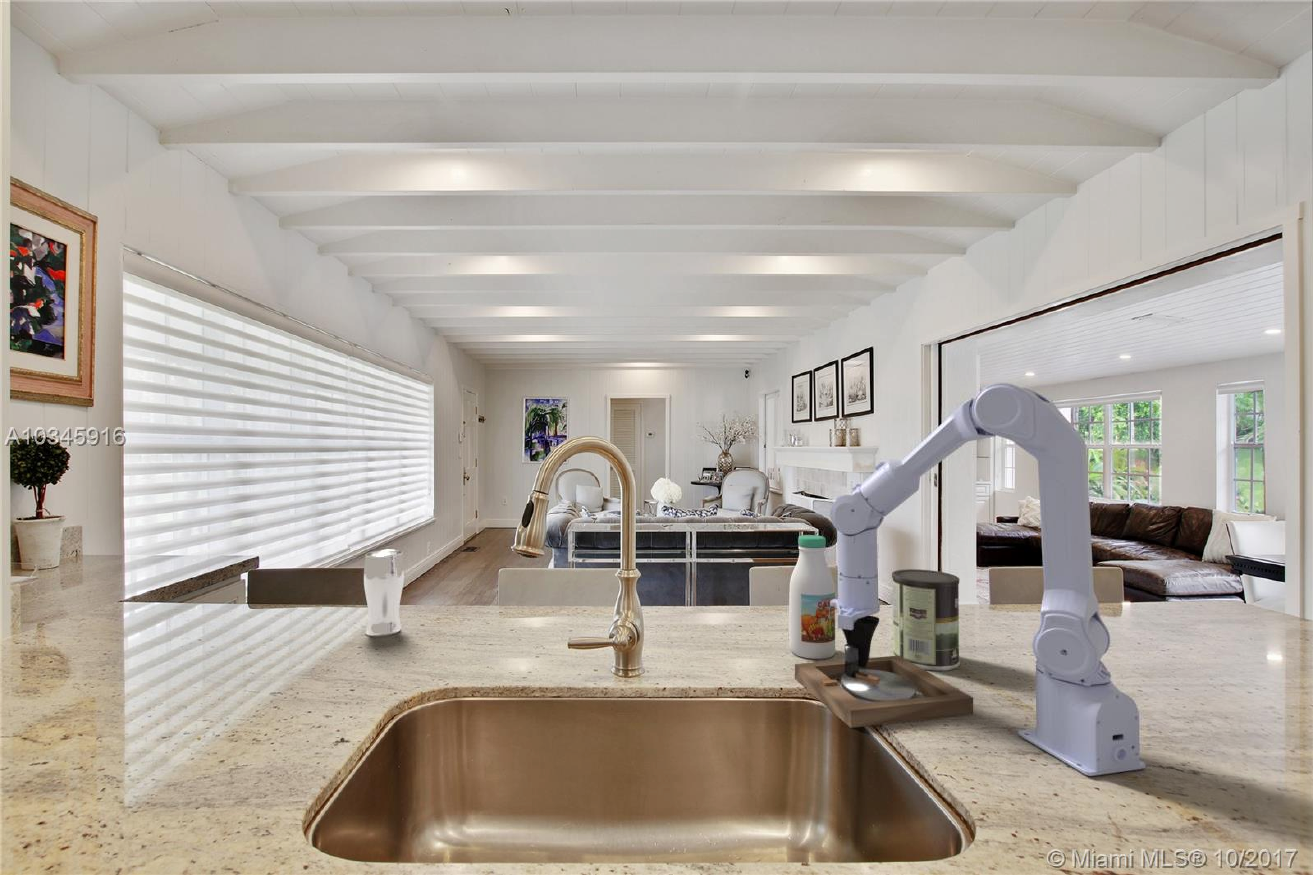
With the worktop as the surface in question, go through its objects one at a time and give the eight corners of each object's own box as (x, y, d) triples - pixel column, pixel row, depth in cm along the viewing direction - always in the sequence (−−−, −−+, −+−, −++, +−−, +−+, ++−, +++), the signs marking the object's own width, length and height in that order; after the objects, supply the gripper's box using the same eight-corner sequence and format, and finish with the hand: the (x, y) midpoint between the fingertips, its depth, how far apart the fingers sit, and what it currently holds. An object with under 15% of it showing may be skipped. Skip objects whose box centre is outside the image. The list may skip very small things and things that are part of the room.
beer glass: (363, 628, 113) (364, 551, 113) (403, 624, 116) (403, 548, 116) (362, 639, 107) (363, 557, 107) (404, 634, 110) (404, 554, 110)
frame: (973, 714, 78) (973, 694, 78) (850, 727, 74) (850, 707, 74) (899, 669, 93) (899, 653, 93) (794, 678, 90) (794, 661, 90)
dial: (927, 694, 83) (927, 653, 83) (896, 716, 77) (896, 672, 77) (861, 674, 91) (861, 636, 91) (827, 693, 84) (827, 652, 84)
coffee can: (949, 651, 102) (949, 570, 102) (968, 673, 92) (968, 583, 92) (886, 647, 104) (886, 567, 104) (898, 668, 94) (898, 580, 94)
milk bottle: (783, 655, 99) (783, 537, 100) (795, 642, 106) (795, 532, 106) (830, 663, 96) (830, 541, 96) (839, 649, 103) (839, 535, 103)
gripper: (844, 563, 96) (845, 646, 96) (815, 580, 84) (817, 675, 84) (889, 568, 92) (890, 654, 92) (866, 586, 80) (868, 686, 80)
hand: (858, 665), depth 88 cm, fingers closed, pressing on dial
